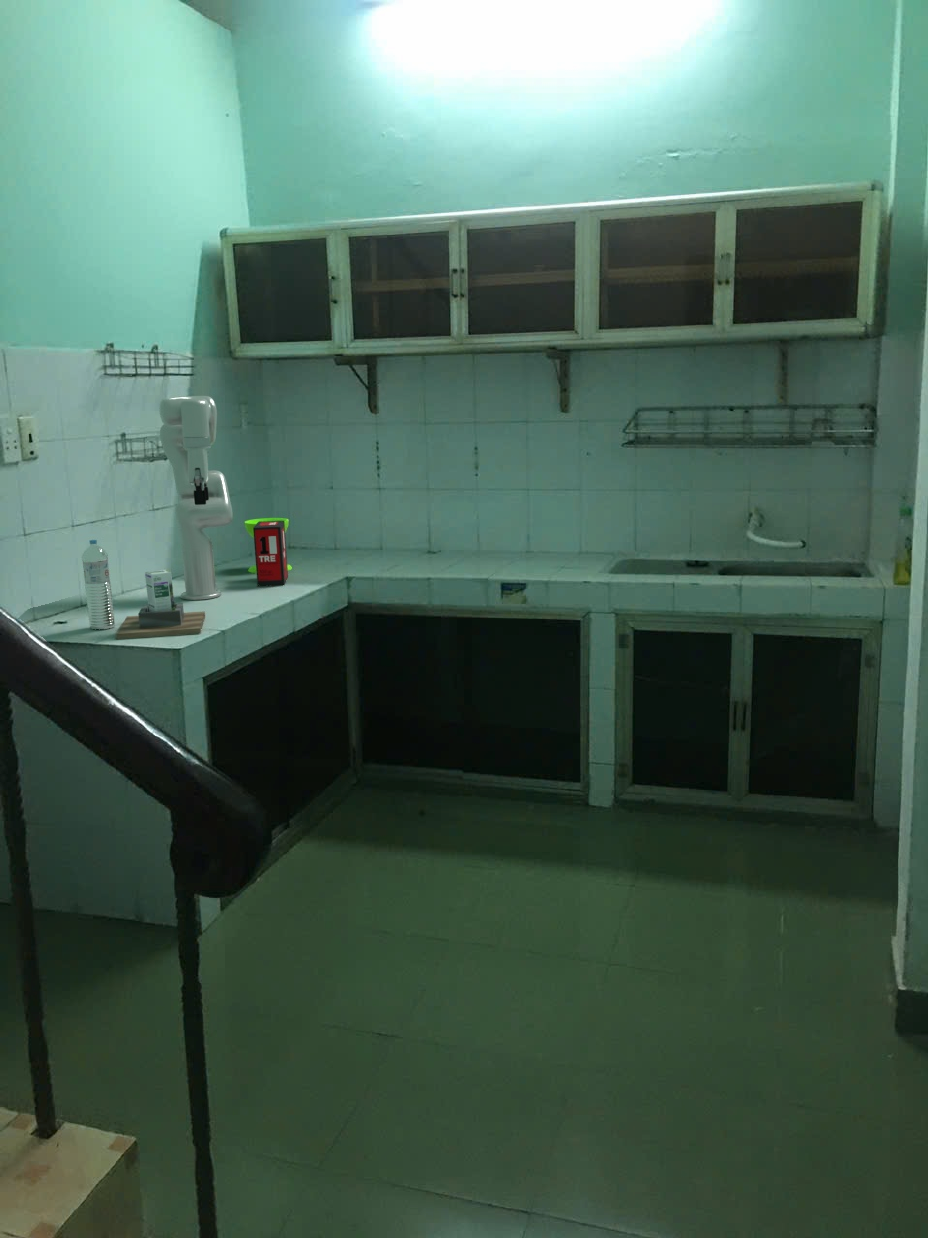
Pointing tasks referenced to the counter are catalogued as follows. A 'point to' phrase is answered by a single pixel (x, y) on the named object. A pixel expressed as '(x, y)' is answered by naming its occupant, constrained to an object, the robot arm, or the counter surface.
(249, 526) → the wineglass
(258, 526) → the cleaning product box
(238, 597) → the counter surface
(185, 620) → the socket board
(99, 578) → the water bottle
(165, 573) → the syrup box
